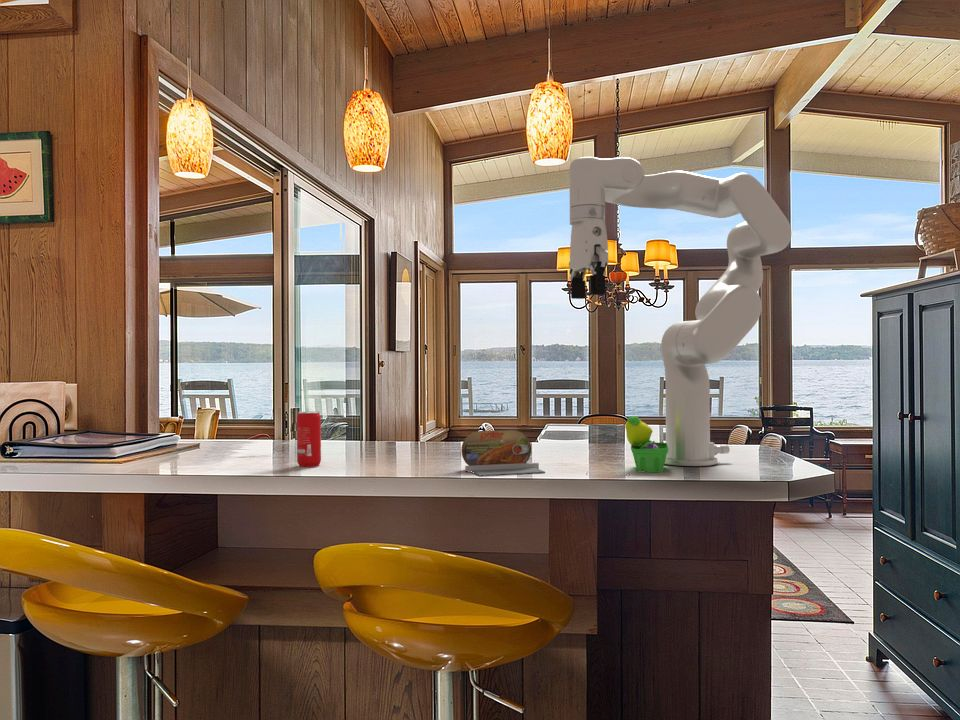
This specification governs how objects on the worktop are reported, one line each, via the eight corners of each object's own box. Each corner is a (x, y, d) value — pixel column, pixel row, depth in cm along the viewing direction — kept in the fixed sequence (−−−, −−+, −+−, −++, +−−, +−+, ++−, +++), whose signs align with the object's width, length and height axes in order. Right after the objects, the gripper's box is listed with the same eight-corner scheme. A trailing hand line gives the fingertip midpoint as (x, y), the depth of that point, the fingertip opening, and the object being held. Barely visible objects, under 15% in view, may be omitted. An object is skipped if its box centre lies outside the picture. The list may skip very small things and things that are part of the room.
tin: (462, 471, 162) (462, 431, 163) (460, 469, 166) (459, 429, 166) (531, 468, 165) (531, 429, 165) (528, 466, 168) (527, 428, 169)
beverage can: (293, 465, 172) (293, 412, 172) (315, 463, 175) (314, 411, 175) (303, 468, 168) (302, 413, 168) (325, 466, 171) (324, 412, 171)
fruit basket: (669, 473, 157) (668, 418, 157) (625, 472, 159) (624, 417, 159) (667, 466, 168) (666, 414, 168) (625, 465, 170) (625, 414, 170)
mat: (537, 468, 166) (537, 462, 166) (549, 472, 159) (549, 466, 159) (465, 471, 161) (465, 466, 161) (474, 476, 154) (474, 470, 154)
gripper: (621, 210, 158) (622, 293, 158) (586, 224, 175) (586, 300, 175) (588, 208, 156) (588, 292, 156) (555, 223, 173) (555, 299, 173)
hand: (587, 296), depth 165 cm, fingers open, 9 cm apart
